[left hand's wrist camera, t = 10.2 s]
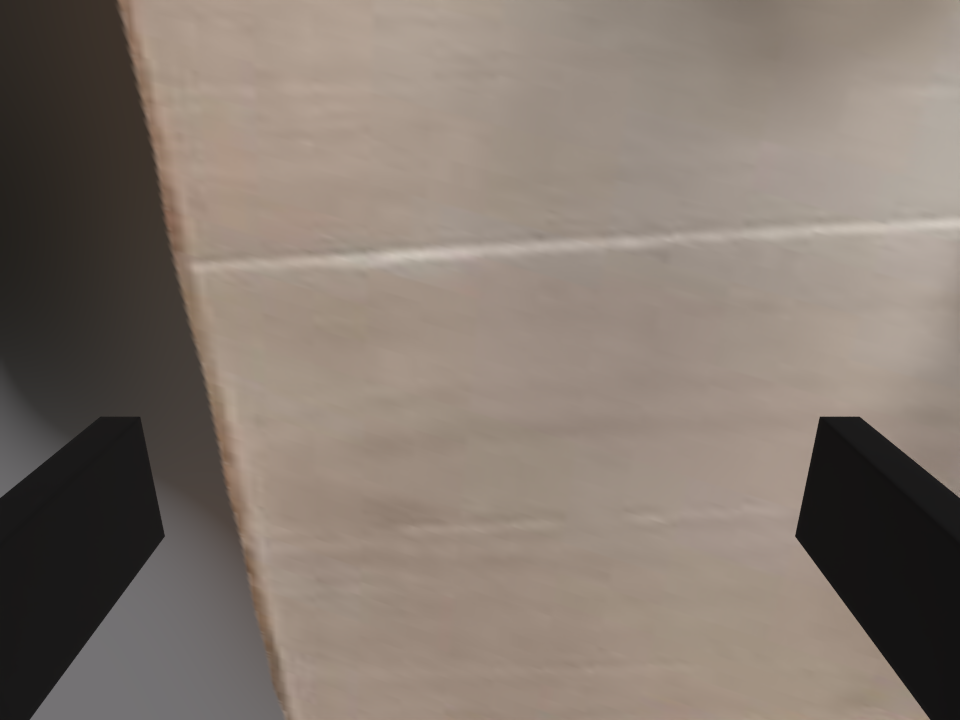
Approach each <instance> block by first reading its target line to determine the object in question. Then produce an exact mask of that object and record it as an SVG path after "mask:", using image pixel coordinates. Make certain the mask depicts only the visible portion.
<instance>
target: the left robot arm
mask: <svg viewBox="0 0 960 720" xmlns="http://www.w3.org/2000/svg"><path fill="white" fill-rule="evenodd" d="M164 537H165V535H164V530H163V525H162V520H161V516H160V511H159V506H158V501H157V496H156V491H155V487H154V482H153V477H152V472H151V467H150V462H149V457H148V453H147V448H146V443H145V438H144V433H143V428H142V424H141V419H140V417H100V418H98V419H97V420H96V421H95V422H93V423H92V424H91V425H90V426H89V427H87V428H86V429H85V430H84V431H82V432H81V433H80V434H79V435H77V436H76V437H75V438H74V439H73V440H71V441H70V442H69V443H68V444H66V445H65V446H64V447H63V448H61V449H60V450H59V451H58V452H56V453H55V454H54V455H53V456H52V457H50V458H49V459H48V460H47V461H45V462H44V463H43V464H42V465H40V466H39V467H38V468H37V469H36V470H34V471H33V472H32V473H31V474H29V475H28V476H27V477H26V478H24V479H23V480H22V481H21V482H20V483H18V484H17V485H16V486H15V487H13V488H12V489H11V490H10V491H9V492H7V493H6V494H5V495H4V496H2V497H1V498H0V720H30V718H31V717H32V716H33V714H34V713H35V712H36V710H37V709H38V708H39V706H40V705H41V703H42V702H43V701H44V699H45V698H46V697H47V695H48V694H49V693H50V691H51V690H52V689H53V687H54V686H55V684H56V683H57V682H58V680H59V679H60V678H61V676H62V675H63V674H64V672H65V671H66V670H67V668H68V667H69V666H70V664H71V663H72V661H73V660H74V659H75V657H76V656H77V655H78V653H79V652H80V651H81V649H82V648H83V647H84V645H85V644H86V642H87V641H88V640H89V638H90V637H91V636H92V634H93V633H94V632H95V630H96V629H97V628H98V626H99V625H100V623H101V622H102V621H103V619H104V618H105V617H106V615H107V614H108V613H109V611H110V610H111V609H112V607H113V606H114V604H115V603H116V602H117V600H118V599H119V598H120V596H121V595H122V594H123V592H124V591H125V590H126V588H127V587H128V586H129V584H130V583H131V581H132V580H133V579H134V577H135V576H136V575H137V573H138V572H139V571H140V569H141V568H142V567H143V565H144V564H145V562H146V561H147V560H148V558H149V557H150V556H151V554H152V553H153V552H154V550H155V549H156V547H157V546H158V545H159V543H160V542H161V541H162V539H163V538H164ZM795 537H796V538H797V539H798V541H799V542H800V543H801V545H802V546H803V548H804V549H805V550H806V552H807V553H808V554H809V556H810V557H811V558H812V560H813V561H814V562H815V564H816V565H817V567H818V568H819V569H820V571H821V572H822V573H823V575H824V576H825V577H826V579H827V580H828V581H829V583H830V584H831V586H832V587H833V588H834V590H835V591H836V592H837V594H838V595H839V596H840V598H841V599H842V600H843V602H844V603H845V605H846V606H847V607H848V609H849V610H850V611H851V613H852V614H853V615H854V617H855V618H856V619H857V621H858V622H859V623H860V625H861V626H862V628H863V629H864V630H865V632H866V633H867V634H868V636H869V637H870V638H871V640H872V641H873V642H874V644H875V645H876V647H877V648H878V649H879V651H880V652H881V653H882V655H883V656H884V657H885V659H886V660H887V661H888V663H889V664H890V666H891V667H892V668H893V670H894V671H895V672H896V674H897V675H898V676H899V678H900V679H901V680H902V682H903V683H904V685H905V686H906V687H907V689H908V690H909V691H910V693H911V694H912V695H913V697H914V698H915V699H916V701H917V702H918V704H919V705H920V706H921V708H922V709H923V710H924V712H925V713H926V714H927V716H928V717H929V718H930V720H960V498H959V497H958V496H956V495H955V494H954V493H953V492H952V491H950V490H949V489H948V488H947V487H945V486H944V485H943V484H942V483H940V482H939V481H938V480H937V479H936V478H934V477H933V476H932V475H931V474H929V473H928V472H927V471H926V470H924V469H923V468H922V467H921V466H920V465H918V464H917V463H916V462H915V461H913V460H912V459H911V458H910V457H908V456H907V455H906V454H905V453H904V452H902V451H901V450H900V449H899V448H897V447H896V446H895V445H894V444H892V443H891V442H890V441H889V440H888V439H886V438H885V437H884V436H883V435H881V434H880V433H879V432H878V431H876V430H875V429H874V428H873V427H871V426H870V425H869V424H868V423H867V422H865V421H864V420H863V419H862V418H860V417H820V419H819V423H818V428H817V433H816V438H815V443H814V448H813V453H812V457H811V462H810V467H809V472H808V477H807V482H806V486H805V491H804V496H803V501H802V506H801V511H800V516H799V520H798V525H797V530H796V535H795Z"/></svg>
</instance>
